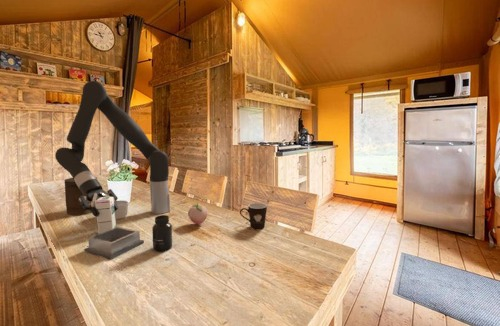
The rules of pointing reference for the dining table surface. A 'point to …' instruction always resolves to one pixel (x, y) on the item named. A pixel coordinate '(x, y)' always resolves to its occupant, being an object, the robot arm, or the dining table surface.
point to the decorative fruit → (197, 214)
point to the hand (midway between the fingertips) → (107, 212)
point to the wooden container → (74, 198)
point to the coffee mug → (256, 215)
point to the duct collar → (113, 242)
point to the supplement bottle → (162, 234)
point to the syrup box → (105, 214)
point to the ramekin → (121, 209)
